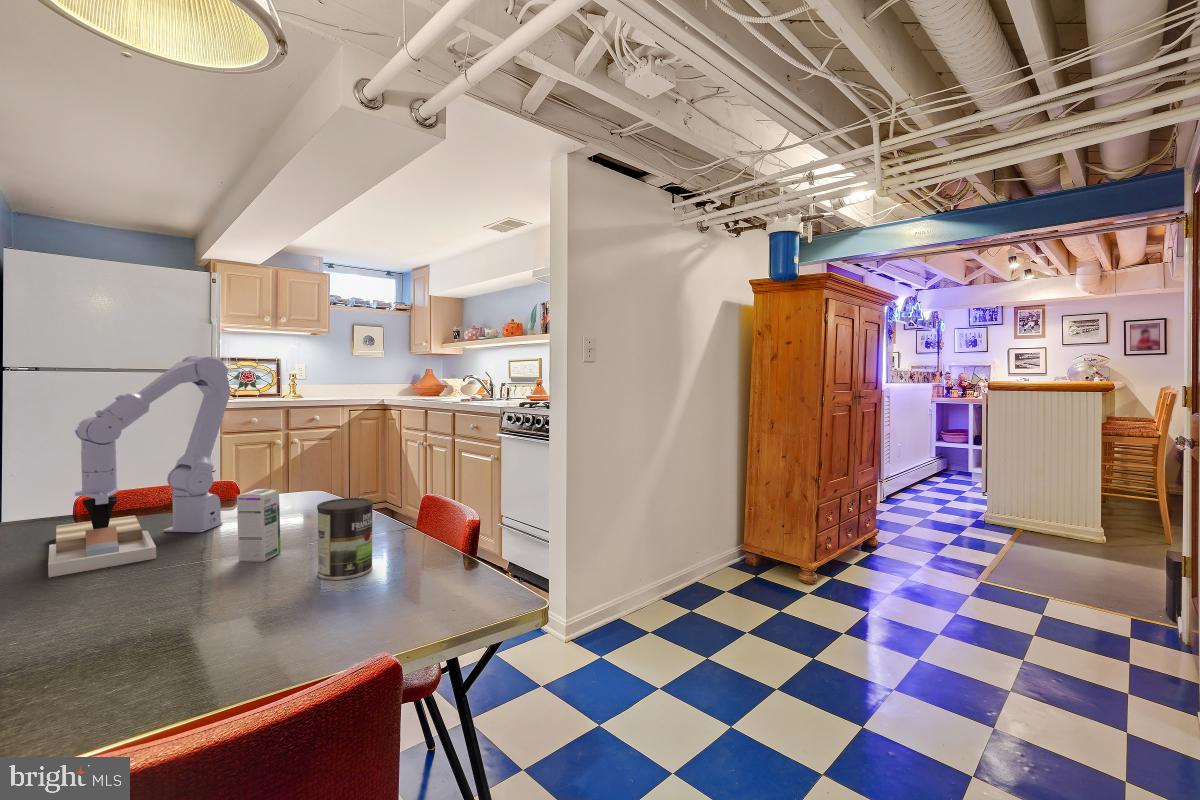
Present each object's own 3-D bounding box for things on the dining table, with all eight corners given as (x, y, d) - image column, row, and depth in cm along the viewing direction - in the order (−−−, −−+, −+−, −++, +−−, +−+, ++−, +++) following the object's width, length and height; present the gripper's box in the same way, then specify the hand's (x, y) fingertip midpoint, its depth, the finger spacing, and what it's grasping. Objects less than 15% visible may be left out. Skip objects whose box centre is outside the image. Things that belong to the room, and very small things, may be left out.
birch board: (56, 538, 125) (56, 525, 125) (135, 527, 135) (135, 515, 135) (56, 555, 114) (56, 541, 114) (142, 541, 124) (141, 529, 124)
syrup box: (264, 562, 113) (263, 494, 112) (237, 561, 113) (236, 493, 112) (281, 553, 119) (280, 488, 118) (254, 552, 119) (254, 488, 118)
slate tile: (86, 551, 110) (86, 560, 110) (118, 546, 113) (119, 555, 114) (85, 545, 113) (85, 554, 113) (117, 540, 117) (117, 549, 117)
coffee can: (383, 564, 113) (383, 499, 112) (351, 583, 103) (351, 511, 102) (340, 560, 115) (340, 495, 114) (305, 577, 105) (304, 507, 104)
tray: (49, 556, 113) (49, 544, 113) (147, 540, 125) (147, 530, 125) (48, 577, 102) (48, 564, 102) (156, 558, 114) (156, 546, 114)
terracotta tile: (85, 537, 117) (85, 530, 116) (115, 532, 121) (116, 526, 120) (86, 553, 114) (86, 546, 114) (117, 548, 118) (117, 541, 117)
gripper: (73, 467, 121) (74, 526, 122) (75, 477, 111) (76, 541, 112) (115, 464, 126) (116, 521, 127) (120, 473, 116) (121, 534, 117)
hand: (100, 530), depth 120 cm, fingers closed
